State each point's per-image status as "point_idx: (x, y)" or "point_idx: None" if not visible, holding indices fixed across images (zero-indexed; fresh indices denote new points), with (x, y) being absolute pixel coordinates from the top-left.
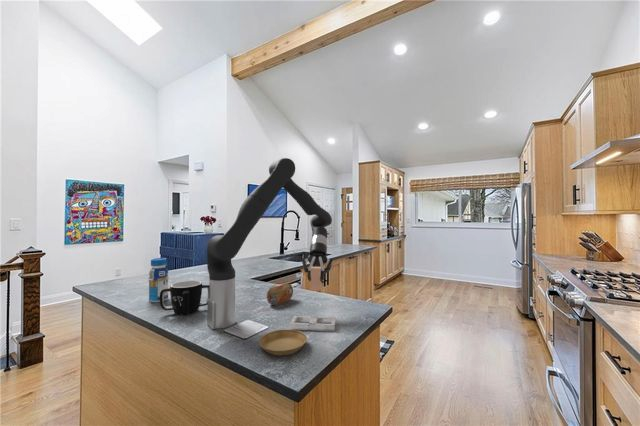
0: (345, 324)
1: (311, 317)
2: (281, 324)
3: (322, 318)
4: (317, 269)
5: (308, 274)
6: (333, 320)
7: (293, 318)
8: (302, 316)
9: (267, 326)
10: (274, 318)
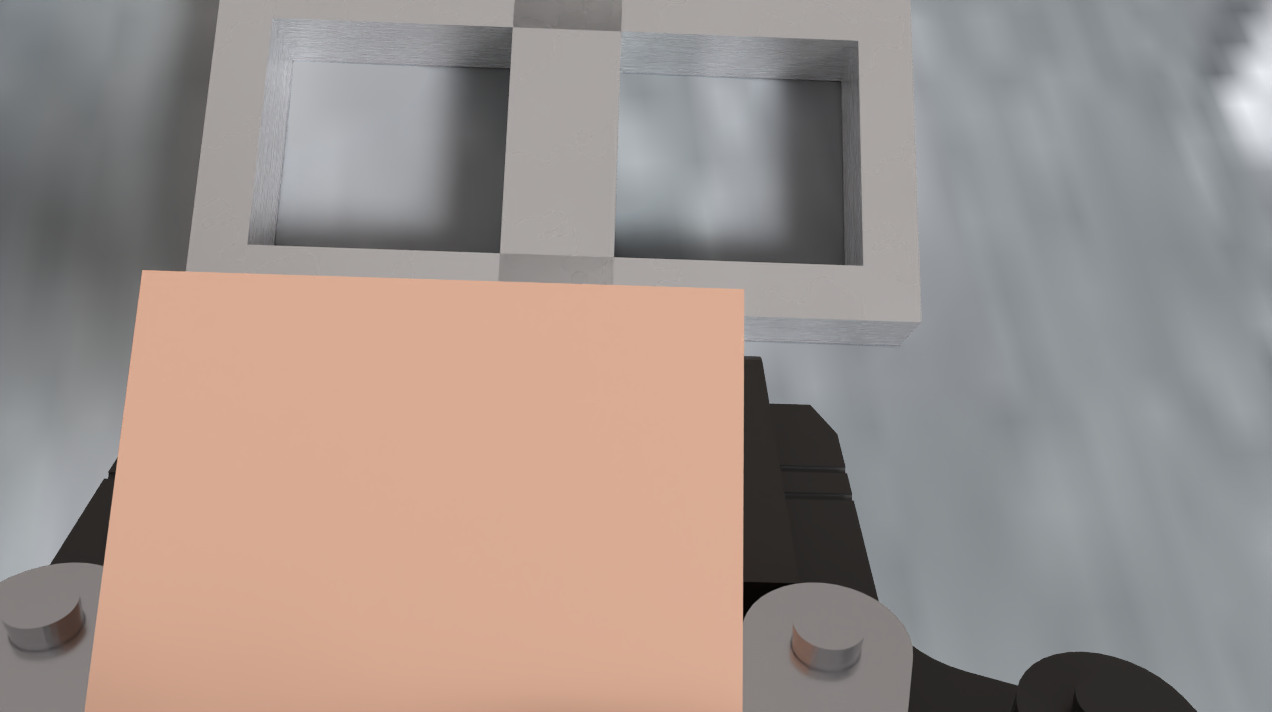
0: (57, 248)
1: (603, 255)
2: (1059, 207)
3: (414, 252)
4: (342, 295)
5: (823, 507)
6: (228, 143)
7: (901, 202)
8: (765, 295)
9: (1241, 129)
10: (1253, 442)
